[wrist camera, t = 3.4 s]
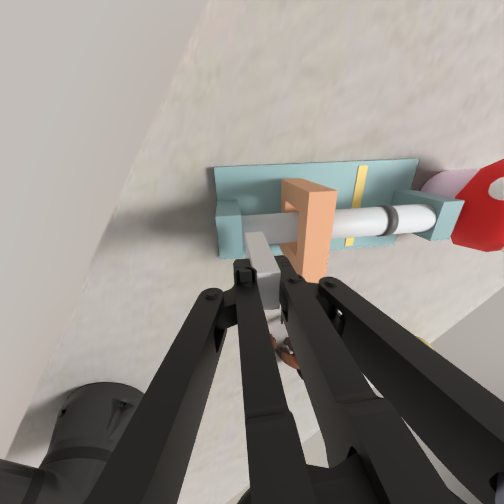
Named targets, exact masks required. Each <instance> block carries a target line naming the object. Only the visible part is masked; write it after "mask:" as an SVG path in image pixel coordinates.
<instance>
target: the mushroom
mask: <svg viewBox="0 0 504 504" xmlns="http://www.w3.org/2000/svg"><path fill="white" fill-rule="evenodd" d="M420 191H421V192H425V193H430V194H435V195H440V196H445V197H450V198H455V199H459V200H464V201H465V202H464V204H463V207H462V209H461V212H460V214H459V216H458V219H457V221H456V224H455V226H454V229H453V231H452V234H451V236H450V237H451V239H452V242H453V244H456V245H460V246H464V247H468V248H472V249H477V250H481V251H485V252H490V251H498V250H502V251H503V252H504V159H502V160H500V161H498V162H495V163H493V164H491V165H489V166H486V167H484V168H482V169H464V170H452V171H443V172H441V173H438V174H436V175H434V176H433V177H431V178H430V179H429V180H428V181H427V182H426V183H425V184H424V186H423V187H422V188H421V190H420Z"/></svg>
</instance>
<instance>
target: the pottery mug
mask: <svg viewBox="0 0 504 504" xmlns="http://www.w3.org/2000/svg"><path fill="white" fill-rule="evenodd" d="M270 337H271V341H272V345H273V348H274V351H275V352H276V353H277V355H278V356H279V357H280V358H281V359H282V360H283V362H284V363H286V364H287V365H289V366H290V367H292V368H294V369H296V370H297V372H298V374H299V376H300V377H301V379H303V377H302V374H301V371H300V368H299V365H298V362H297V359H296V356H295V353H294V350H293V347H292V344H291V341H290V338H289V337H288V338H285V340H284V344H286V345H287V346H288V347H289V348H290V349H291V350H292V351H293V354H290V353H289V352H288V350H287V348H286V347H285V348H279V347H277V346H276V339H275V338H274V337H273V336H272V334H270Z"/></svg>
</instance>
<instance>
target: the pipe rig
mask: <svg viewBox="0 0 504 504" xmlns="http://www.w3.org/2000/svg"><path fill="white" fill-rule="evenodd" d="M418 161H419V159H391V160H367V161H344V162H320V163H297V164H273V165H249V166H226V167H214V174H215V183H216V193H217V207H216V216H215V218H216V227H217V236H218V245H219V254H220V259H222V258H223V259H232V258H243V257H246V245H245V233H248V232H263V234H264V236H265V238H266V240H267V243H268V245H269V247H270V249H271V251H272V254H273V255H279V254H283V253H282V251H281V250H280V243H288V242H297V237H298V222H299V212H290V213H281V179H291V178H303V179H306V180H308V181H311V182H314V183H317V184H320V185H323V186H326V187H329V188H332V189H334V190H337V191H338V194H337V201H336V208H335V215H334V222H333V229H332V236H331V243H330V250H338V249H350V248H361V247H373V246H385V245H395V241H396V238H397V234H401V233H413V234H415V235H417V236H420V237H422V238H424V239H427V240H429V241H436V240H448V239H450V236H451V234H452V231H453V229H454V226H455V224H456V221H457V219H458V216H459V214H460V212H461V209H462V207H463V204H464V202H465V201H464V200H459V199H455V198H450V197H445V196H440V195H435V194H430V193H425V192H421V191H416V190H411V186H412V182H413V179H414V175H415V172H416V168H417V165H418Z"/></svg>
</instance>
